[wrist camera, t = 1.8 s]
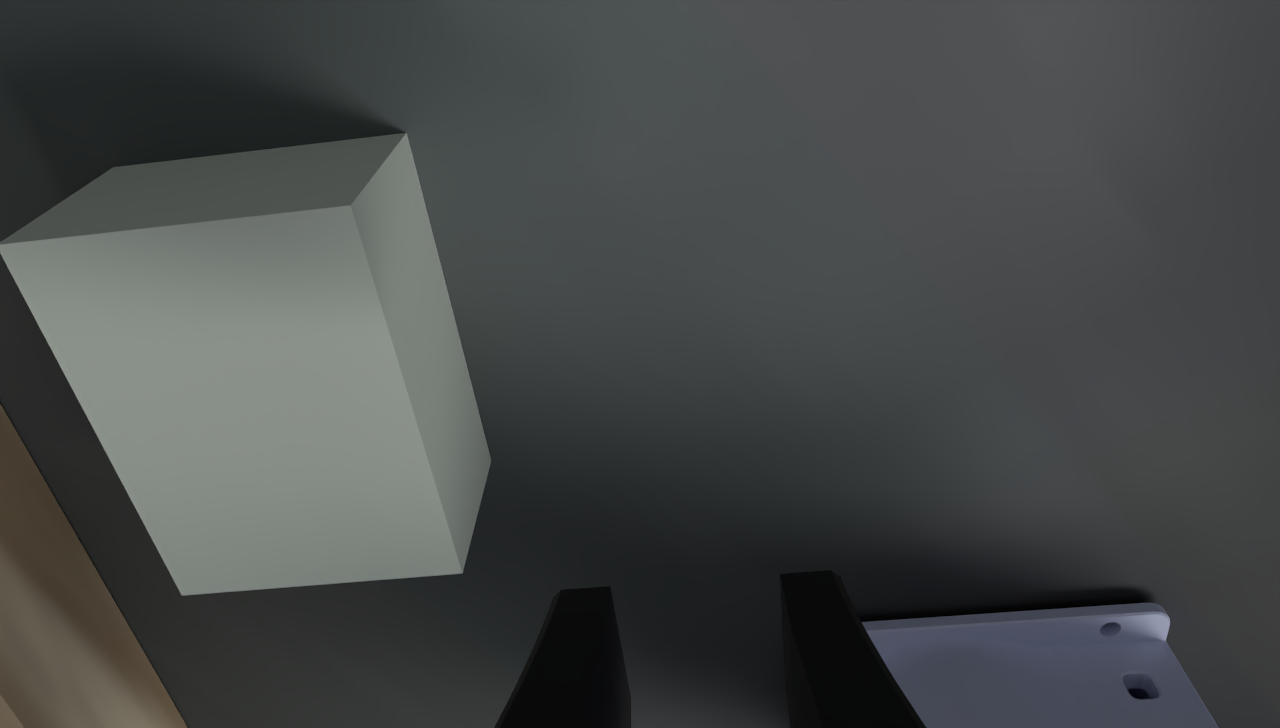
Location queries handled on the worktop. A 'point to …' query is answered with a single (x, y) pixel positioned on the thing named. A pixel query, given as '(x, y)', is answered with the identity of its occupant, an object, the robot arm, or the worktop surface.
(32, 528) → the birch board
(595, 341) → the worktop surface
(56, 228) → the sage block
